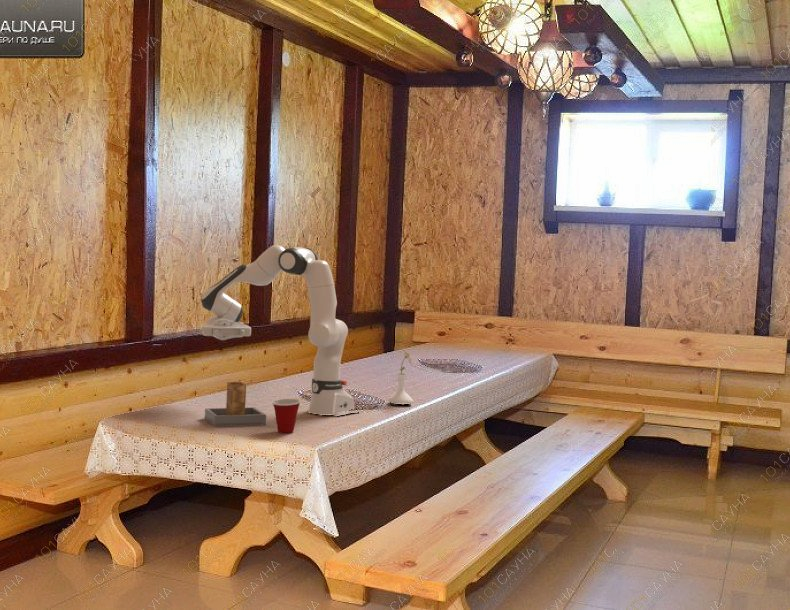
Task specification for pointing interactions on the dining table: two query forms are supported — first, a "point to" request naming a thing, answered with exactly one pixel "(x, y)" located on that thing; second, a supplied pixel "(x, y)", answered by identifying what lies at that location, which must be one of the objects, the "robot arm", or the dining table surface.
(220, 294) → the robot arm
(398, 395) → the flower in vase
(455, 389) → the dining table surface
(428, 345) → the dining table surface
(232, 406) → the wooden pencil holder
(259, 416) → the gray tray
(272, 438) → the dining table surface
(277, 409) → the plastic cup
